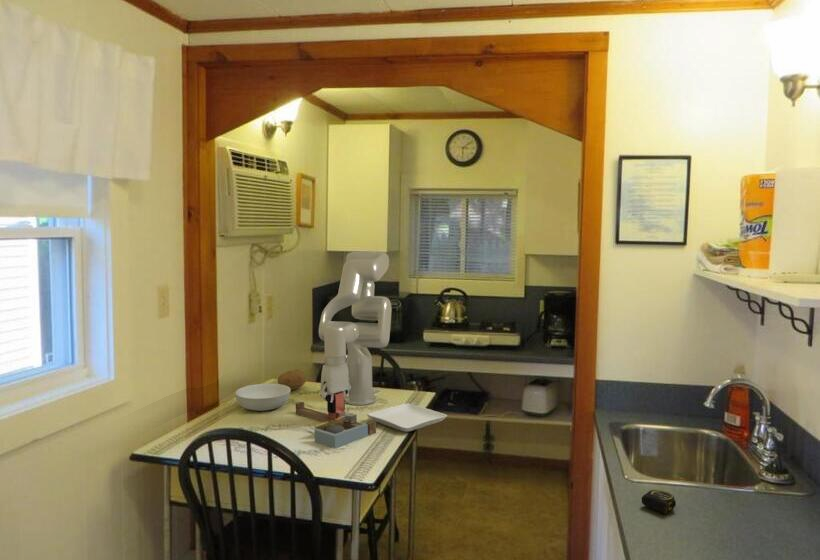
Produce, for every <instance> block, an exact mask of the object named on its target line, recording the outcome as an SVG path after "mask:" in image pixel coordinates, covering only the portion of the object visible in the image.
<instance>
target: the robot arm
mask: <svg viewBox="0 0 820 560" xmlns="http://www.w3.org/2000/svg"><path fill="white" fill-rule="evenodd" d="M389 258H390V257H389V256H388V254H387V253H386V252H384V251H368V250H367V251H366V250H361V251H360V250H358V251H352V252H349V253H347V255H346V257H345V263H343V267H342V272H341V275H340V276H341V278H340V282H339V288H338V293H337V295H336V296H334V297H333V298H332V299H331V300H330V301H329V302H328V303H327V305H326V306H325V307H324V309H323V310H322V312H321V315H320V320H319V325H318V337H319V338H320V340H321V341H324V364H323V365H322V369H321V373H320V375H321V377H320V393H319V396H320V397H321V398H323V399H324V400H325V401H326V406H327V408H326V409H327V411H326V412H327V413H328V412H329V413H335V403H334V402H333V399H334V393H338V392H344V411H345V409H346V404H347V405H348V404H349V405H353V406H365V405H371V404H374V403H376V401H377V396H375V395H376V394H377V393H378V394H379V393H380V392H381V388H380V387H376V388H374V387H373V357H372V354H371V352H370V351H369V349H368V348H375V349H376V348H378V349H379V348H381V349H383V348H385V347H387V346H388V345H389V343H390V336H391V335H390V334H391V324H392V302H391V301H390V299H389V298H388V297H386V296H381V295H380V296H379V295H377V296H375V282H378V281H380V280H381V278H382V277H383V276H384V275H385V274H386V272H387V271H388V269H389V267H390V259H389ZM350 306H351V316H352V317H353V318H354V319H357V320H361V321H362V320H364V321H377V322H378V323H377V322H375V323H373V322H372V323H371V322H353V321H352V322H351V321H336V320H335V321H334V320H333V321H332V319H333V317H334V315H335V314H337V313H338V312H340V311H341V310H343V309H345V308H348V307H350ZM347 362H348V363H347ZM345 403H346V404H345Z"/></svg>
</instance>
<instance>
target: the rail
mask: <svg viewBox="0 0 820 560" xmlns="http://www.w3.org/2000/svg"><path fill="white" fill-rule="evenodd" d="M295 415H299V416H301V417H306V418H309V419H312V420H316V421H319V422H321V423H324V422H327V421H330V420H333V419H331V418H328V413H326V412H323V411H318V410H316V409H315V410H314V409H310V408H308V407H305V402H304V401H299V402H296V403H295ZM362 424H363V423H361V422H358V421H357V422H354V423H349V422H346V421H345V422H343V427H344V429H345V430H348V429H351V428H354V427H356V426H359V425H362ZM366 424H368V436H372V435H375V434H376V433H377V422H376V421H374V420H370V421H368V422H366Z"/></svg>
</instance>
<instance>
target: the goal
mask: <svg viewBox="0 0 820 560" xmlns="http://www.w3.org/2000/svg"><path fill="white" fill-rule="evenodd" d="M368 436H369V435H368V424H367V423H362V425H359V426H356V427H354V428H351V429H345V430H344V431H342V432H339V433H337V434H334V433H330V432H327V431H324V430H320V429H316V430H315V429H314V442H315V443H317V444H321V445H324V446H327V447H329V448H333V449H338V448H340V447H343V446H345V445H349V444H351V443H354V442H356V441H358V440H362V439H364V438H366V437H368Z"/></svg>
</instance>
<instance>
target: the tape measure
mask: <svg viewBox="0 0 820 560" xmlns="http://www.w3.org/2000/svg"><path fill="white" fill-rule="evenodd" d="M641 503H642V505H643V506H645V507H647V508H650V509H652V510H655V511H657V512H660V513H662V514H665V515H666V514H668V513H669V512H671V511H673V510H674V508H675V507H676V505H677V503H676V500H675V496H674V495H673V494H672V493H670V492H669V491H666V490H662V489H653V490H652V489H651V490H649V491H647V492H646V493H645V494H643V495H642V497H641Z"/></svg>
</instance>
